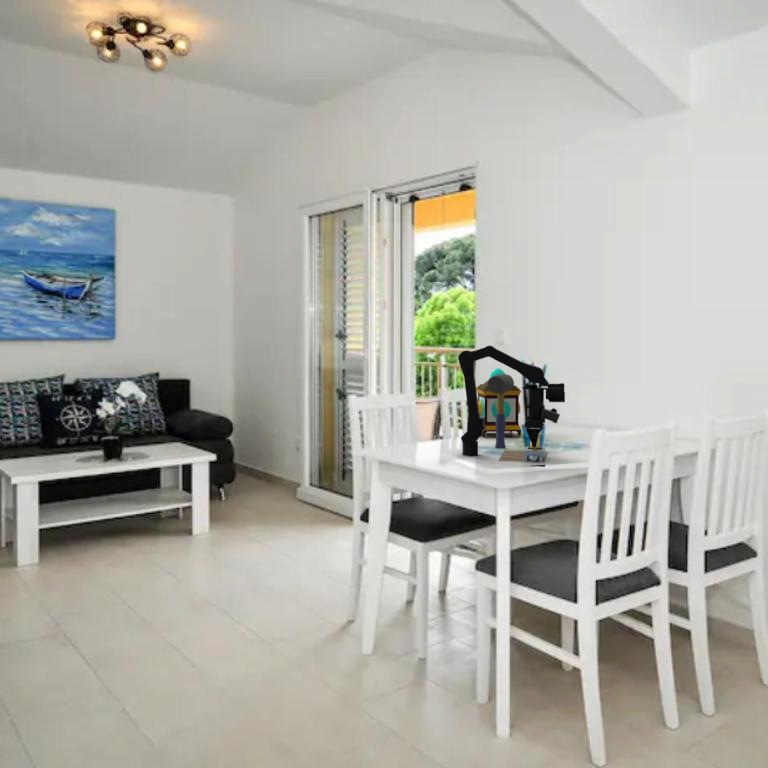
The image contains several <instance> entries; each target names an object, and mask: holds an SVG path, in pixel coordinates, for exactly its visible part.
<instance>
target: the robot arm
mask: <svg viewBox="0 0 768 768" xmlns="http://www.w3.org/2000/svg"><path fill="white" fill-rule="evenodd" d="M488 357H489V358H491V359H493V360H495V361H496V362H499V363H501V364H503V365H504V366H506V367H508V368H511V369H512V370H514V371H516V372H517V373H519V374H520V375H521V376H523V378H525V379H527V380H528V381H529V382H530V383H533V384H530V383H529V382H526V383H525V385H523V386H522V390H527V405H526V408H527V409H526V410H527V411H526V413H527V414H526V415H527V416H526V420H525V422H524V428H525V430H526V434H527V436H528V438H529V440H530V445H531V444H532V446H533V447H536V444H537V439H538V434H539V432H540V431H541V432H542V431H543V430H544V426H545V425H546V424H545V423H546V420H548V421H550V422H552V423H554V424H557V423H558V422H559V421H558V420H559V418H560V416H561V414H560V413H558V411H557V409H556V408H554V407H553V408H551V409H548V408H546V406H545V404H544V403H545V401H544V399H545V400H547V401H548V403H565V402H566V401H565V399H566V392H565V383H563V382H559V383H550V382H549V381H548V379H546V378H545V372H544V370H543V368H541V367H539V366H537V365H535V364H534V365H533V364H530V363H527V362H523V361H521V360H519V359H517V358H515V357H513V356H511V355H510V354H507V353H506V352H504V351H502V350H500V349H497V348H496V347H495V346H493V345H487V346H485V347H482V348H479V349H476V350H467V349H466V350H463V351H461V352H460V353H459V354H458V358H457V359H458V362H459V366H460V369H461V372H462V374H463V379H464V388H465V389H464V390H465V394H466V403H467V405H466V406H467V413H468V416H467V422H466V423H467V424H466V425H467V426H466V432H464V434H463V435H462V436H461V437H460V438H461V439H460V440H461V442H462V445H461V447H462V449H461V450H462V452H461V454H462V456H466V457H467V456H468V457H478V456H479V441H478V440H479V438H481V437H482V434H483V433H484V429H485V428H486V426H485V417H481V416H480V413H479V407H478V393H477V390H476V388H477V384H476V375H475V374H476V367H477V366H476V365H477V361H479V360H482V359H485V358H488ZM538 385H540V386H541V387H539V386H538Z"/></svg>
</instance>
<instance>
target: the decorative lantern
mask: <svg viewBox="0 0 768 768" xmlns="http://www.w3.org/2000/svg"><path fill="white" fill-rule="evenodd" d="M498 374H506V373H505V371H504V370H502V368H499V367H498V368H495V369H493V371H492V372H490V375H489V379H490V378H491V377H493V376H495V375H498ZM487 384H488V380H486V381H485V382H484V383H480V384H479V385H478V386H476V390H477V399H478V407H479V413H480V416H481V417H485V426H486V428H485V429H484V433H483V434H482V436H481V437H482V438H483V439H485V438H486V435H487V434H486V433H489V432H490V433H491V432H493V433H496V416H497V407H498V394H495V393H492V392H491V391H490V390H489V389H488V385H487ZM521 391H522V390H521V389H520V388H519V387H518V386H517V385H515V384H514V386H513V388H512V389H511V390H510V391H508V392H506V393H504V415H505V433H506V432H508V433H510V434H511V433H513V432H517V433H516V435H517V438H521V437H522V429H521V426H520V423H519V414H520V413H521V405H520V402H519V399H520V397H519V396H520V395H521Z"/></svg>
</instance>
